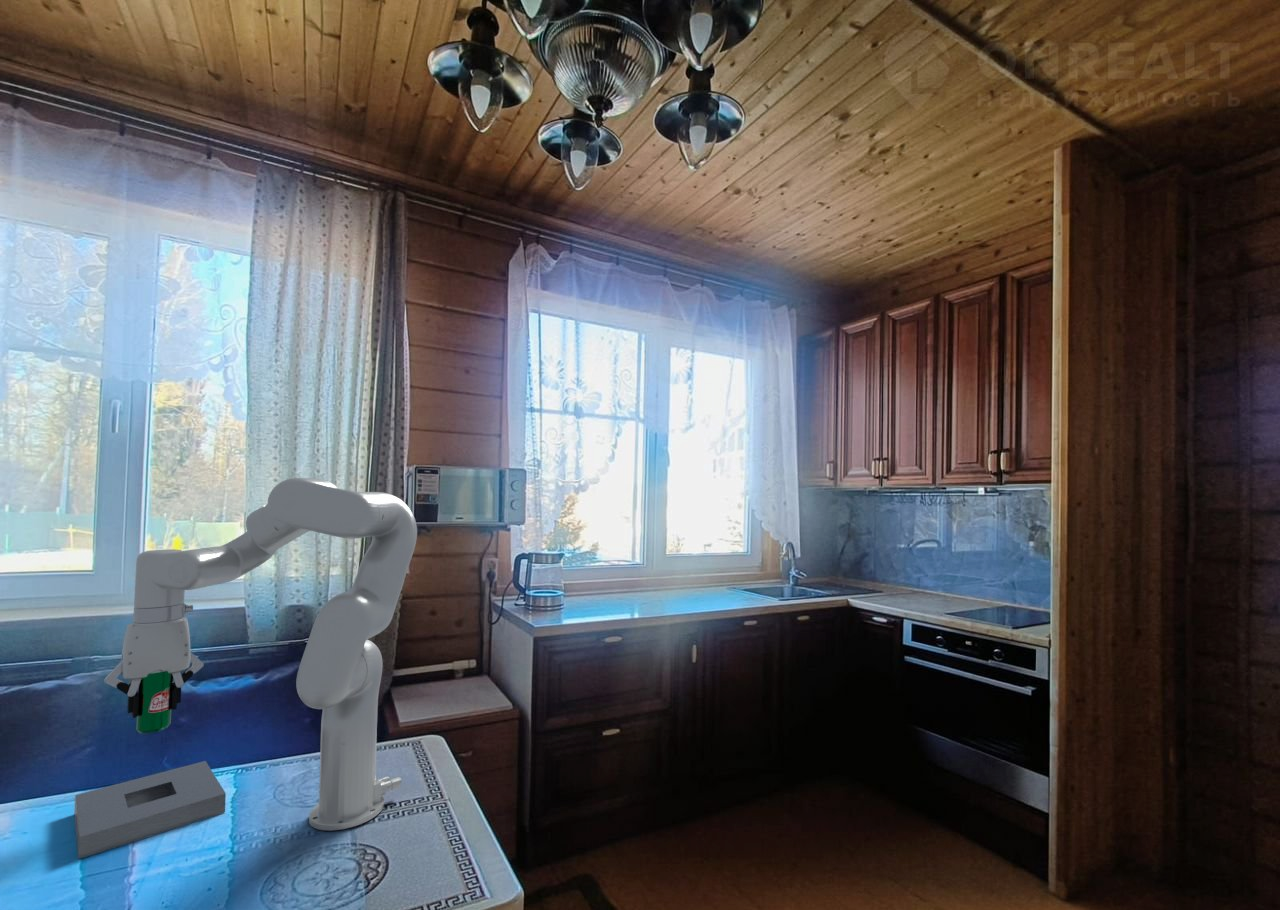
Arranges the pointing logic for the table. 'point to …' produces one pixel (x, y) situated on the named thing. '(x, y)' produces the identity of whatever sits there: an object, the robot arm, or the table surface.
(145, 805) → the bore block
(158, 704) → the soda can
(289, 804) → the table surface
